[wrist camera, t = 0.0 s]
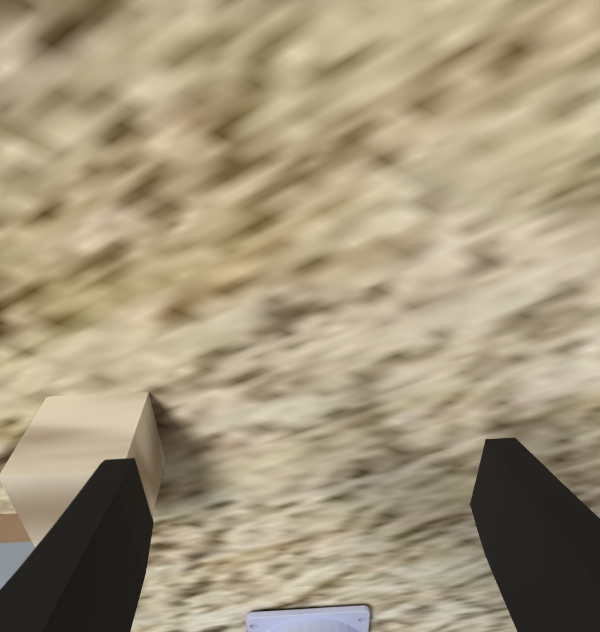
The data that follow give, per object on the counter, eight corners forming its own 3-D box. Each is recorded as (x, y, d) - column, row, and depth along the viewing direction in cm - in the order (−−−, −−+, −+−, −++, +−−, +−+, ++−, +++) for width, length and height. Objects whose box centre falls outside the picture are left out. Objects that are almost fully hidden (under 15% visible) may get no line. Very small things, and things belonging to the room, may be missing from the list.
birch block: (166, 460, 24) (145, 544, 20) (74, 465, 24) (36, 550, 20) (149, 390, 22) (121, 470, 18) (47, 395, 22) (-2, 476, 18)
